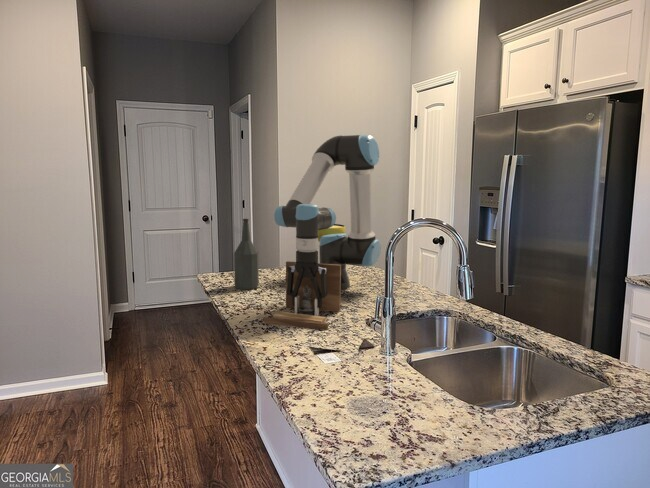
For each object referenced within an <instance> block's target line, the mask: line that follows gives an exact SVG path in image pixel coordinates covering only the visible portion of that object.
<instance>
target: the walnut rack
mask: <svg viewBox="0 0 650 488" xmlns="http://www.w3.org/2000/svg"><path fill="white" fill-rule="evenodd" d="M295 264H296V261H289V260H287V261H286V262H285V308H292V309H295V306H293V305H292V296H291V295H287V285H288V270H287V268H288V267H289V266H295ZM318 264H319V267H321V268H327V272H326V285H327V296H326V297H325V298H322V306H321V308H319V311H327V312H335V313H336V312H337V313H340V312H341V307H342V306H341V303H342V301H341V300H342V299H341V297H342V296H341V294H342V293H341V265H337V264H321V263H319V262H318ZM298 274H299V273H298V272H297V270H296V269H295V271H294V279H293V290H294V287H295V284H296V281H297V277H298ZM316 276H317V281H318V284H319V287H320V290H321V277H320V276H321V274H320V273H319V270H318V271H317V272H316ZM306 285H308V287H309V288H310V289H311V297H312V299H311V305H312V307H315V299H316V298H317V297H316V293H315V290H314V287H313V284H312V281H311V280H310V278H308V277H303V279H302V282H301V285H300V288H299V291H298V293H297V296H299V307H301V306H302V304H303V299H302V297H303V289H304V288H305V287H306ZM293 290H292V291H293ZM321 293H322V290H321ZM263 324H268V325H278V326H285V327H286V326H288V327H299V328H307V329H308V328H309V329H319V330H327V331H328V329H329V322H326V323H323V322H313V321H303V320H292V319H282V318H273V317H269V316H265V317H263Z"/></svg>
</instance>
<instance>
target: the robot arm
mask: <svg viewBox="0 0 650 488" xmlns="http://www.w3.org/2000/svg"><path fill="white" fill-rule="evenodd" d="M379 158H380V148H379V144H378V142H377V140H376V138H375V137H374V136H372V135H370V134H368V135H367V134H355V135H335V136H333V137H331V138H329V139H327V140H326V141H325V142H323V143H322V144H320V146H319V147H318V148H317V149H316V151H315V152H314V153H313V155H312V157H311V162H310V163H311V164H310V165H309V166H308V169H307V170H306V171H305V173H304V175H303V176H302V178H301V179H300V182H299V183H298V185H297V186H296V188H295V190H294V191H293V192H292V195H291V196H290V198H289V200H288V202H287V203H286V205H279V206H278V207H276V208H275V210H274V214H273V217H274V223H275V224H276V225H277V226H279V227H283V228H295V249H296V251H295V262H296V264H295V266H289V267H288V268H287V270H288V285H287V295H291V296H292V305H293V306H295V308H294V313H297V314H300V312H299V309H298V308H299V296H297V293H298V291H299V288H300V285H301V282H302V279H303V277H308V278H310V280H311V281H312V284H313V287H314V290H315V293H316V297H317V298H316V299H315V310H314V316H320V310H319V308H321V306H322V298H325V297H326V296H327V285H326V272H327V268H321V267H319V264H318V263H321V264H337V265H341V290H346V289H349V288H350V286H351V284H350V283H351V282H350V277H349V275H348V272H347V271H348V270H347V266H357V267H363V268H365V267H367V268H370V267H371V268H372V267H374V266H375V265H377V263H378V262H379V261H378V260H379V258H380V254H381V249H382V244H381V241H380V240H379V239H377V238H376V233H375V232H374V231H373V229H372V227H373V225H372V191H371V185H372V184H371V183H372V182H371V173H372V172H373V171H374V169H375V166H376V165H377V164H378V163H379V161H380V160H379ZM339 165H340V166H343V165H344V167H345V168H344V171H345V172H347V173H348V179H349V203H350V204H349V208H350V232H349V233H345V234H344V233H339V234H329V235H324V236H322V237H321V238H320V242H319V241H318V230H323V229H328V228H330V227H332V226H333V225H334V224H336V222H337V214H336V212H335V211H334V210H333V209H332V208H331V207H319V206H318V205H317V204H315V203H313V204H312V202H313V200H314V199H315V196H316V195H317V193H318V191H319V189H320V187H321V186H322V184H323V182H324V180H325V179H326V177H327V176H328V173H329V172H331V171H332V170H333V169H334V167H336V166H339ZM318 249H319V251H318ZM295 269H296V270H297V272H298V273H299V274H298V277H297V281H296V284H295V287H294V290H293V279H294V271H295ZM318 270H319V273H320V274H321V276H320V277H321V290H322V293H321V290H320V287H319V284H318V281H317V276H316V272H317V271H318ZM292 290H293V291H292Z"/></svg>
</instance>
